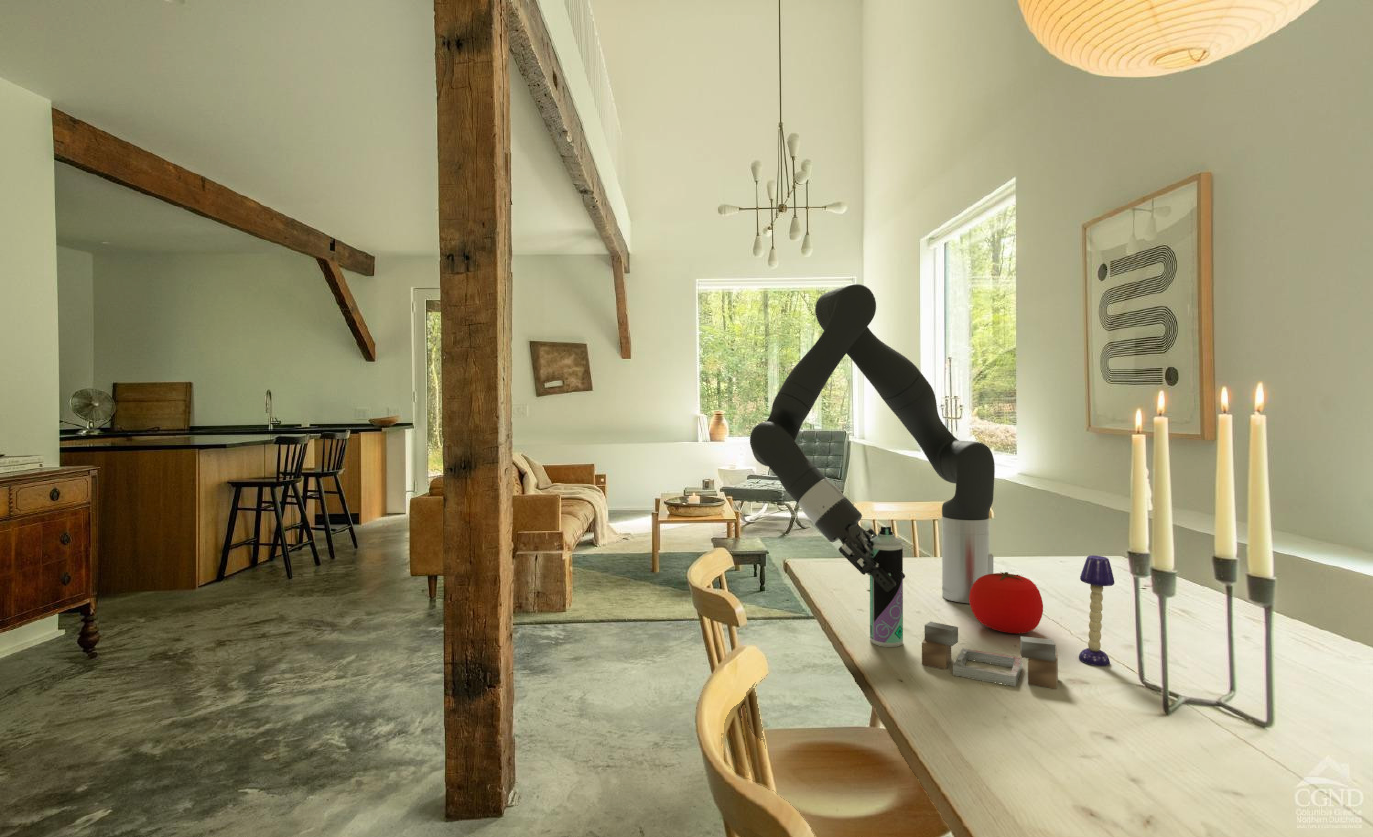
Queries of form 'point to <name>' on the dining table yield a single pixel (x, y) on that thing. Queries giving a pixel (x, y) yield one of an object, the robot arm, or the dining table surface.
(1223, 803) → the dining table surface
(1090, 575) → the toy lamp
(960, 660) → the socket collar
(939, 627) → the stand
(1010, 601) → the tomato
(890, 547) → the spray can
